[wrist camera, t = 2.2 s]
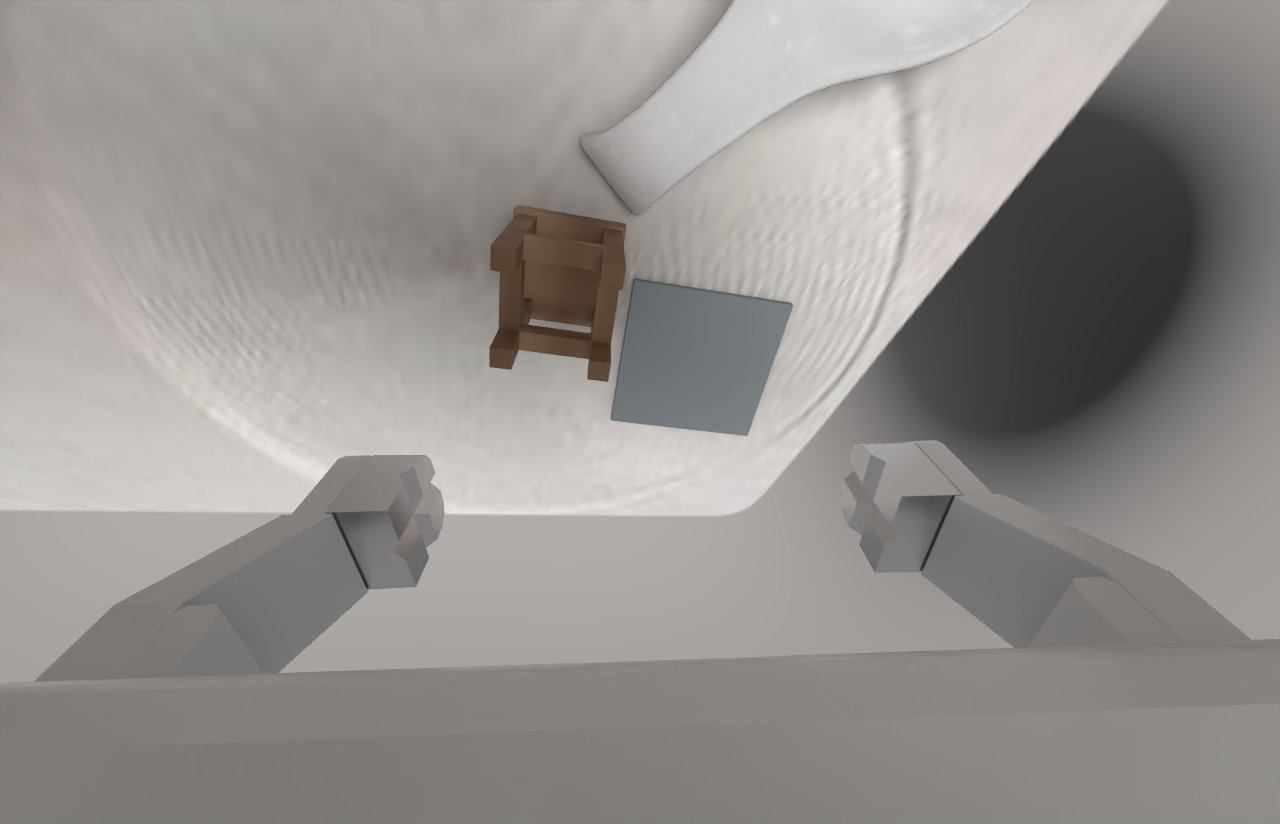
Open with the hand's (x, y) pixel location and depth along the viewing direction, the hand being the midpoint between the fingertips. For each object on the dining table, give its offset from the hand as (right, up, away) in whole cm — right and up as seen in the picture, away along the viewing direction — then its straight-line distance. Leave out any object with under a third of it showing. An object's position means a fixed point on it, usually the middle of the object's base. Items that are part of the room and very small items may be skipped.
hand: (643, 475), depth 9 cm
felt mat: (+4, +4, +23) cm, 24 cm away
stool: (-4, +10, +19) cm, 22 cm away
